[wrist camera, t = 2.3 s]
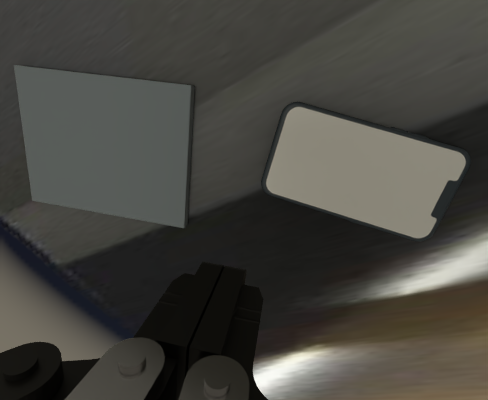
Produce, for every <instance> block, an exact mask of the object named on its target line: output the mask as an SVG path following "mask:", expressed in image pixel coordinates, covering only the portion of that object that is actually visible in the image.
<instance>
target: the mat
mask: <svg viewBox="0 0 488 400" xmlns="http://www.w3.org/2000/svg"><path fill="white" fill-rule="evenodd" d="M14 69H15V76H16V84H17V91H18V99H19V106H20V113H21V121H22V128H23V136H24V143H25V150H26V158H27V165H28V172H29V180H30V187H31V195H32V201H38V202H43V203H49V204H54V205H60V206H65V207H71V208H76V209H82V210H87V211H93V212H98V213H104V214H109V215H115V216H120V217H126V218H131V219H137V220H142V221H148V222H153V223H159V224H164V225H170V226H175V227H181V228H185V227H186V226H187V224H188V206H189V187H190V168H191V149H192V130H193V111H194V92H195V86H192V85H183V84H175V83H166V82H157V81H148V80H140V79H131V78H122V77H114V76H105V75H96V74H87V73H79V72H70V71H61V70H53V69H44V68H35V67H26V66H18V65H14Z"/></svg>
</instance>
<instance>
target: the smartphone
mask: <svg viewBox="0 0 488 400" xmlns="http://www.w3.org/2000/svg"><path fill="white" fill-rule="evenodd" d="M470 163H471V158H470V155H469V154H468V152H467V151H465V150H464V149H462V148H459V147H456V146H452V145H449V144H445V143H442V142H438V141H435V140H431V139H428V137H425V136H422V135H418V134H415V133H408V131H404V130H401V129H397V128H394V127H391V128H389V127H385V126H382V125H378V124H375V123H371V122H368V121H364V120H361V119H357V118H354V117H350V116H347V115H343V114H340V113H336V112H333V111H329V110H326V109H322V108H319V107H315V106H312V105H308V104H305V103H301V102H294V103H291V104H289V105H287V106H286V107H285V108H284V110H283V111H282V114H281V117H280V121H279V124H278V127H277V130H276V134H275V137H274V140H273V144H272V147H271V150H270V154H269V157H268V160H267V163H266V167H265V170H264V173H263V177H262V181H261V185H262V188H263V190H264V191H265V192H266V193H267V194H268V195H270V196H273V197H276V198H279V199H282V200H285V201H289V202H292V203H295V204H298V205H301V206H304V207H308V208H311V209H314V210H317V211H320V212H323V213H327V214H330V215H333V216H336V217H339V218H343V219H346V220H348V221H350V222H353V223H356V224H360V225H363V226H366V227H371V228H374V229H377V230H381V231H384V232H387V233H390V234H393V235H397V236H400V237H403V238H406V239H409V240H412V241H417V242H420V241H425V240H427V239H429V238H431V237H432V236H433V234H434V233H435V231H436V229H437V227H438V225H439V224H440V222H441V220H442V218H443V216H444V214H445V212H446V210H447V208H448V207H449V205H450V203H451V201H452V199H453V197H454V195H455V193H456V191H457V190H458V188H459V186H460V184H461V182H462V180H463V178H464V176H465V175H466V173H467V171H468V169H469V167H470Z"/></svg>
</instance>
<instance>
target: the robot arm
mask: <svg viewBox="0 0 488 400" xmlns="http://www.w3.org/2000/svg"><path fill="white" fill-rule="evenodd" d="M245 278H246V270H245V269H240V268H234V267H229V266H225V267H224V266H223V265H218V264H213V263H208V262H202V264H201V265H200V267H199V269H198V270H197V272H196V274H195V275H191V274H186V273H184V274H183V275H181V276H180V277H178V278H177V279H175V280H173V281H172V283H171V284H170V286H169V287H168V289H167V290H166V292H165V293H164V294H163V296H162V297H161V299H160V300H159V303H157V304H156V306H155V307H154V309H153V310H152V312H151V313H150V314H149V316H148V317H147V319H146V320H145V322H144V323H143V324H142V326H141V327H140V329H139V330H138V332H137V333H136V334H135V336H134V337H133V338H130V339H127V340H124V341H121V342H119V343H117V344H116V345H114V346H113V347H111V348H110V349H109V350H108V351H107V352H106V353H105V354H104V355H103V356H102V357H101V358H98V359H92V360H78V361H62V358H61V353H60V351H59V349H58V348H57V347H56V346H55V345H53V344H50V343H46V342H34V343H28V344H24V345H21V346H18V347H15V348H13V349H10V350H7V351H5V352H2V353H0V400H268V399H267V398H266V397H265V396H264V395H263V394H262V393H261V392H260V390H259V389H258V387H257V385H256V383H255V381H254V377H253V361H254V355H255V349H256V342H257V336H258V330H259V323H260V317H261V311H262V304H263V297H262V295H261V292H260V290H259V288H257V287H252V286H247V285H245Z"/></svg>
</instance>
